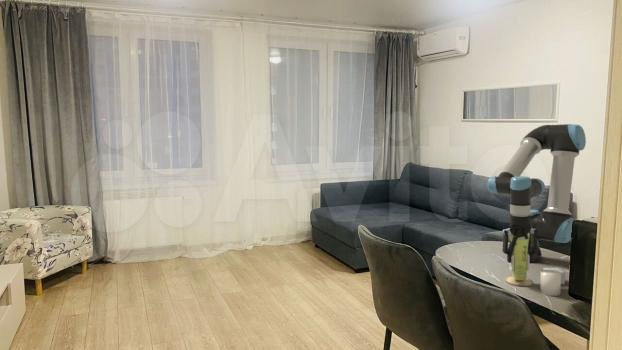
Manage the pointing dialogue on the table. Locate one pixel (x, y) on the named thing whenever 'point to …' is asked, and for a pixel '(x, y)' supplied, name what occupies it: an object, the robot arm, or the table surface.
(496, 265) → the table surface
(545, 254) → the table surface
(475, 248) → the table surface
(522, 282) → the trivet
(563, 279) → the box
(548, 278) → the white rounded cylinder
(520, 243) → the tube
